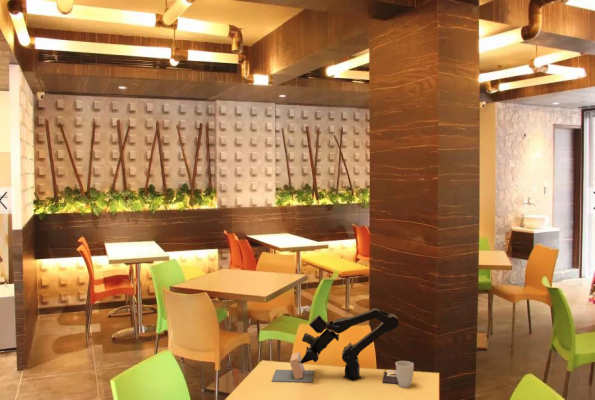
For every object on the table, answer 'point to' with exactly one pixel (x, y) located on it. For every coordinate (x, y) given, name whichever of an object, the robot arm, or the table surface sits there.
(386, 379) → the chocolate bar
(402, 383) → the cup
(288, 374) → the mat
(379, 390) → the table surface
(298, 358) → the salmon pink block
